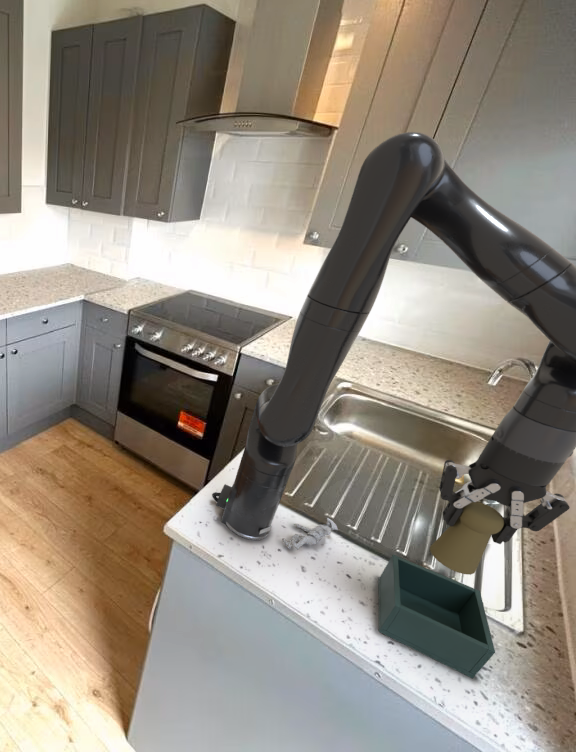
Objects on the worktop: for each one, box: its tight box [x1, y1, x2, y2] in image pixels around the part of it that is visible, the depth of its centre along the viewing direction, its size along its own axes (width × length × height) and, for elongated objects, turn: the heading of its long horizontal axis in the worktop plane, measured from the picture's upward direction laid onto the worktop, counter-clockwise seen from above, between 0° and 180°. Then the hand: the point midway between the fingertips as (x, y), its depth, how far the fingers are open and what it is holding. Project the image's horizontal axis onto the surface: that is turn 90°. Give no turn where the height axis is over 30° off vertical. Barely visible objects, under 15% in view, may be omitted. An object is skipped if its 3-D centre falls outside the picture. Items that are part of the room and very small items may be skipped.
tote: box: [377, 554, 496, 679], centre depth 73 cm, size 13×13×7 cm
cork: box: [429, 501, 504, 575], centre depth 68 cm, size 6×6×11 cm
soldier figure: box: [282, 517, 339, 551], centre depth 89 cm, size 8×5×12 cm
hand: (471, 530), depth 68 cm, fingers closed on cork, 5 cm apart
